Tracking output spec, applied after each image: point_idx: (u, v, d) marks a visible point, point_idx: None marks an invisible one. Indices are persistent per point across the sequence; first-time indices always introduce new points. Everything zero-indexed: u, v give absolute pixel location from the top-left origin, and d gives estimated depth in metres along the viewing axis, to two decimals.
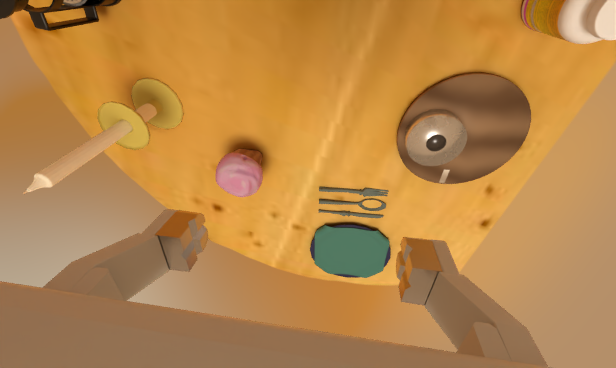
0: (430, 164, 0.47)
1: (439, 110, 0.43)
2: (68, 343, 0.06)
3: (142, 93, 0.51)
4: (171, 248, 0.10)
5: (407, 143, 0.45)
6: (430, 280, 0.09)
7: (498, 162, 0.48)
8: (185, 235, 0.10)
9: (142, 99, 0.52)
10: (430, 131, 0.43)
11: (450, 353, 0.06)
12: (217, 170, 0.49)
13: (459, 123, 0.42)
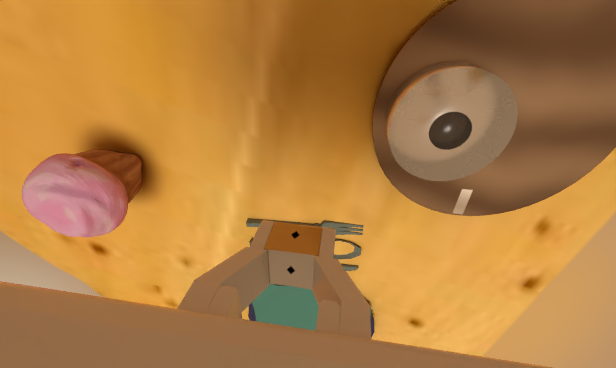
0: (438, 177, 0.23)
1: (455, 62, 0.21)
2: (68, 343, 0.06)
3: None
4: (278, 262, 0.10)
5: (390, 133, 0.22)
6: (310, 264, 0.09)
7: (569, 175, 0.24)
8: (292, 248, 0.10)
9: None
10: (438, 104, 0.20)
11: (450, 353, 0.06)
12: None
13: (502, 84, 0.19)
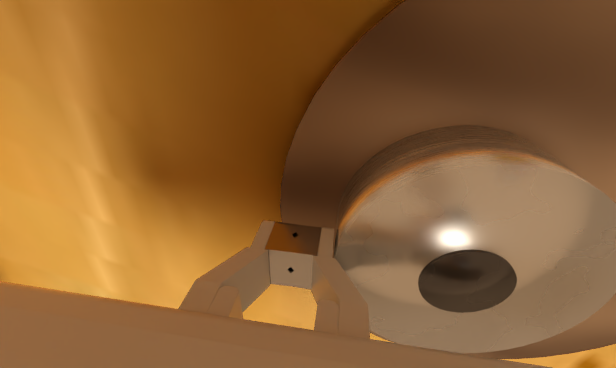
0: (439, 347, 0.12)
1: (476, 132, 0.09)
2: (68, 343, 0.06)
3: None
4: (279, 262, 0.10)
5: None
6: (309, 264, 0.09)
7: None
8: (293, 248, 0.10)
9: None
10: (438, 233, 0.09)
11: (450, 353, 0.06)
12: None
13: (604, 204, 0.07)
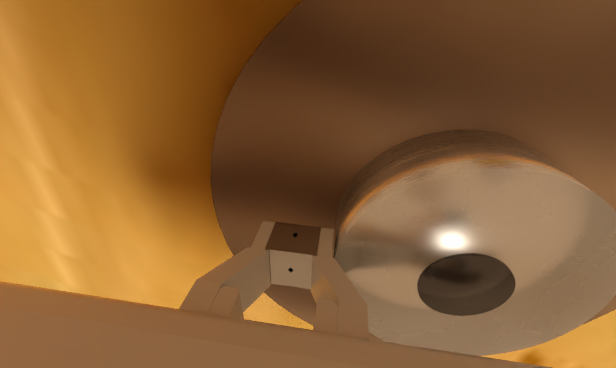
0: None
1: (479, 136, 0.09)
2: (68, 343, 0.06)
3: None
4: (279, 262, 0.10)
5: None
6: (308, 264, 0.09)
7: None
8: (294, 248, 0.10)
9: None
10: (439, 236, 0.09)
11: (450, 353, 0.06)
12: None
13: (604, 211, 0.07)
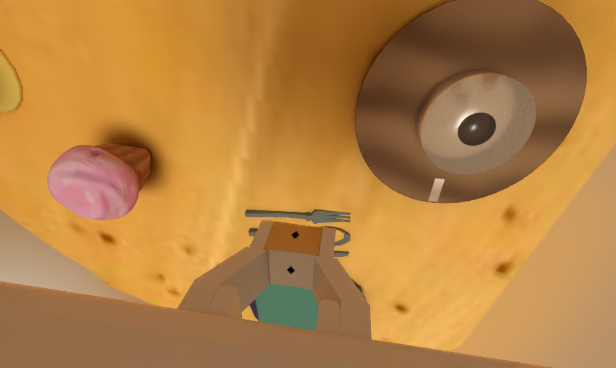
0: (462, 171, 0.26)
1: (482, 70, 0.24)
2: (68, 343, 0.06)
3: None
4: (278, 262, 0.10)
5: (423, 129, 0.25)
6: (310, 264, 0.09)
7: (527, 165, 0.28)
8: (292, 248, 0.10)
9: None
10: (467, 105, 0.23)
11: (450, 353, 0.06)
12: (49, 173, 0.29)
13: (524, 90, 0.22)
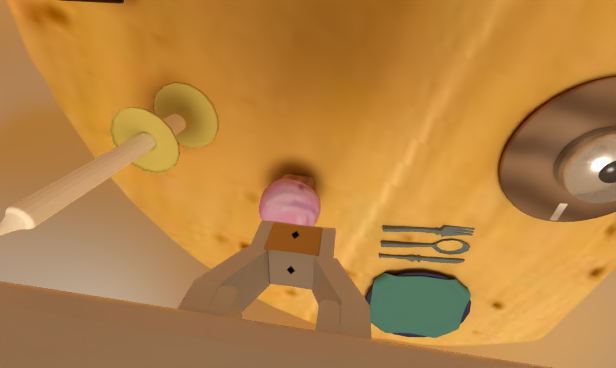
0: (595, 200, 0.34)
1: None
2: (68, 343, 0.06)
3: (167, 101, 0.40)
4: (278, 262, 0.10)
5: (571, 171, 0.33)
6: (310, 264, 0.09)
7: None
8: (292, 248, 0.10)
9: (167, 110, 0.41)
10: (612, 155, 0.31)
11: (450, 353, 0.06)
12: (263, 201, 0.37)
13: None
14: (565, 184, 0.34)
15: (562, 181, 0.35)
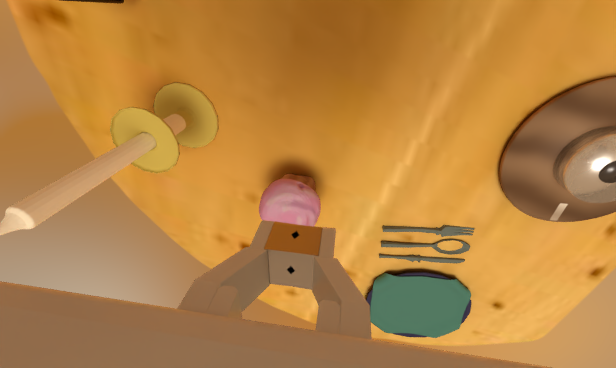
0: (595, 200, 0.34)
1: None
2: (68, 343, 0.06)
3: (168, 101, 0.40)
4: (278, 262, 0.10)
5: (571, 171, 0.33)
6: (310, 264, 0.09)
7: None
8: (292, 248, 0.10)
9: (167, 110, 0.41)
10: (612, 155, 0.31)
11: (450, 353, 0.06)
12: (264, 201, 0.37)
13: None
14: (565, 184, 0.34)
15: (562, 181, 0.35)
